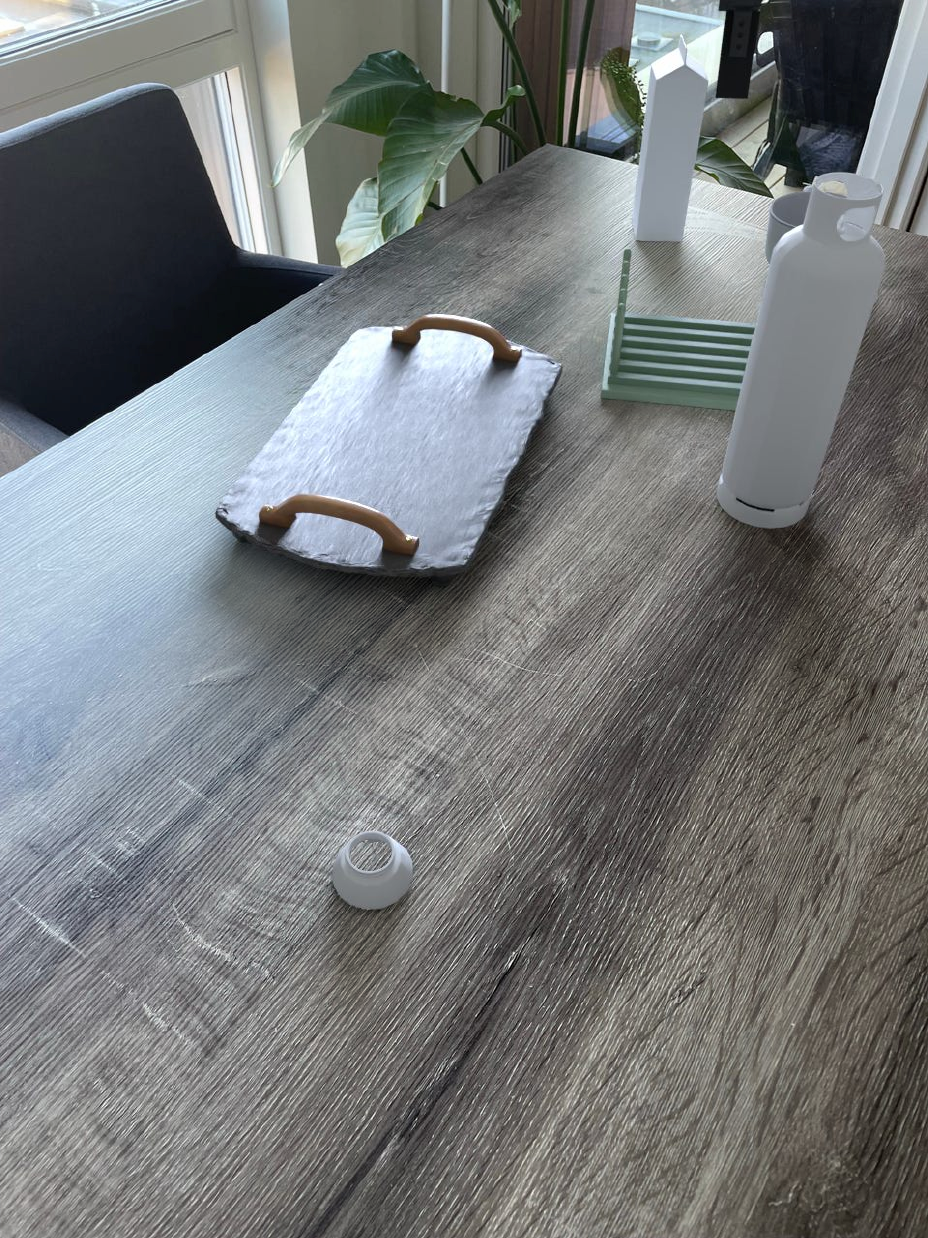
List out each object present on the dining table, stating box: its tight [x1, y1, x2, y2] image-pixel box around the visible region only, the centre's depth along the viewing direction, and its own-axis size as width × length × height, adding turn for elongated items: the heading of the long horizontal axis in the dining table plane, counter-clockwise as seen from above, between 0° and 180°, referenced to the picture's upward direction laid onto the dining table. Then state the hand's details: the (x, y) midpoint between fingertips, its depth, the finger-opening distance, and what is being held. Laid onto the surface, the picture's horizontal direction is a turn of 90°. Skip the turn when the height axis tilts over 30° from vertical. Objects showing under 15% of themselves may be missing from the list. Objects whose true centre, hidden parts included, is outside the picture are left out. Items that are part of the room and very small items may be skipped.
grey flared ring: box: [331, 830, 414, 911], centre depth 62 cm, size 5×3×5 cm
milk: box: [631, 33, 709, 243], centre depth 121 cm, size 6×6×22 cm
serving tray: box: [214, 313, 564, 589], centre depth 92 cm, size 39×23×6 cm, turn 162°
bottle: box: [716, 171, 887, 529], centre depth 80 cm, size 8×8×28 cm
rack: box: [600, 247, 756, 412], centre depth 103 cm, size 19×16×9 cm
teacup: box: [764, 185, 864, 265], centre depth 119 cm, size 14×11×8 cm
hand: (733, 76), depth 90 cm, fingers open, 13 cm apart
